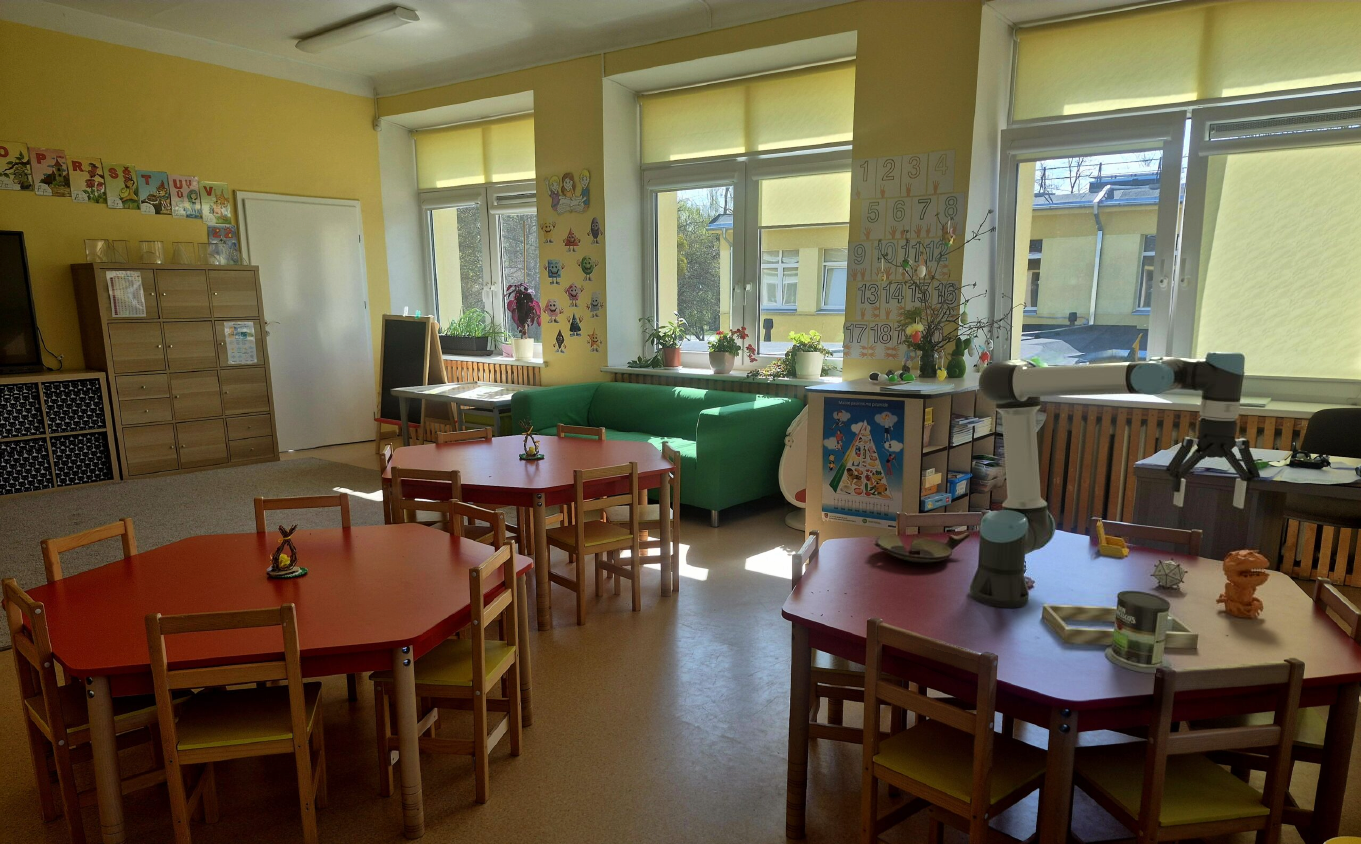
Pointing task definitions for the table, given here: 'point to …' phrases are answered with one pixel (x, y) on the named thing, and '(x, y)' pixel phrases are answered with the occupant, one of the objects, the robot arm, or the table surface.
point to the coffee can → (1140, 628)
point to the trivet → (1133, 667)
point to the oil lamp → (920, 547)
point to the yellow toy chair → (1111, 544)
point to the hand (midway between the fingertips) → (1207, 506)
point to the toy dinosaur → (1243, 583)
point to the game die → (1169, 573)
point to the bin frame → (1056, 613)
